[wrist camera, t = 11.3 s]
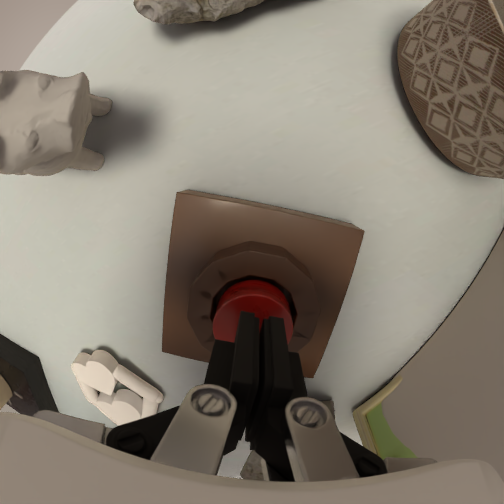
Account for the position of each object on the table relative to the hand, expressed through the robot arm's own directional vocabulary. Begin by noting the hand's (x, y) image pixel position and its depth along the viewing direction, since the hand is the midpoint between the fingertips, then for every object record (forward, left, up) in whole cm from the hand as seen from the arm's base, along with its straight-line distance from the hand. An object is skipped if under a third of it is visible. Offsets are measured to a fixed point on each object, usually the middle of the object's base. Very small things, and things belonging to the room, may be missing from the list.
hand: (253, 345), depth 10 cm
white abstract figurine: (-14, +9, -7) cm, 18 cm away
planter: (+17, -12, -7) cm, 22 cm away
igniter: (0, 0, -7) cm, 7 cm away
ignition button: (0, 0, -3) cm, 3 cm away
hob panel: (-19, +27, -7) cm, 34 cm away
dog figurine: (+8, +14, -7) cm, 17 cm away
